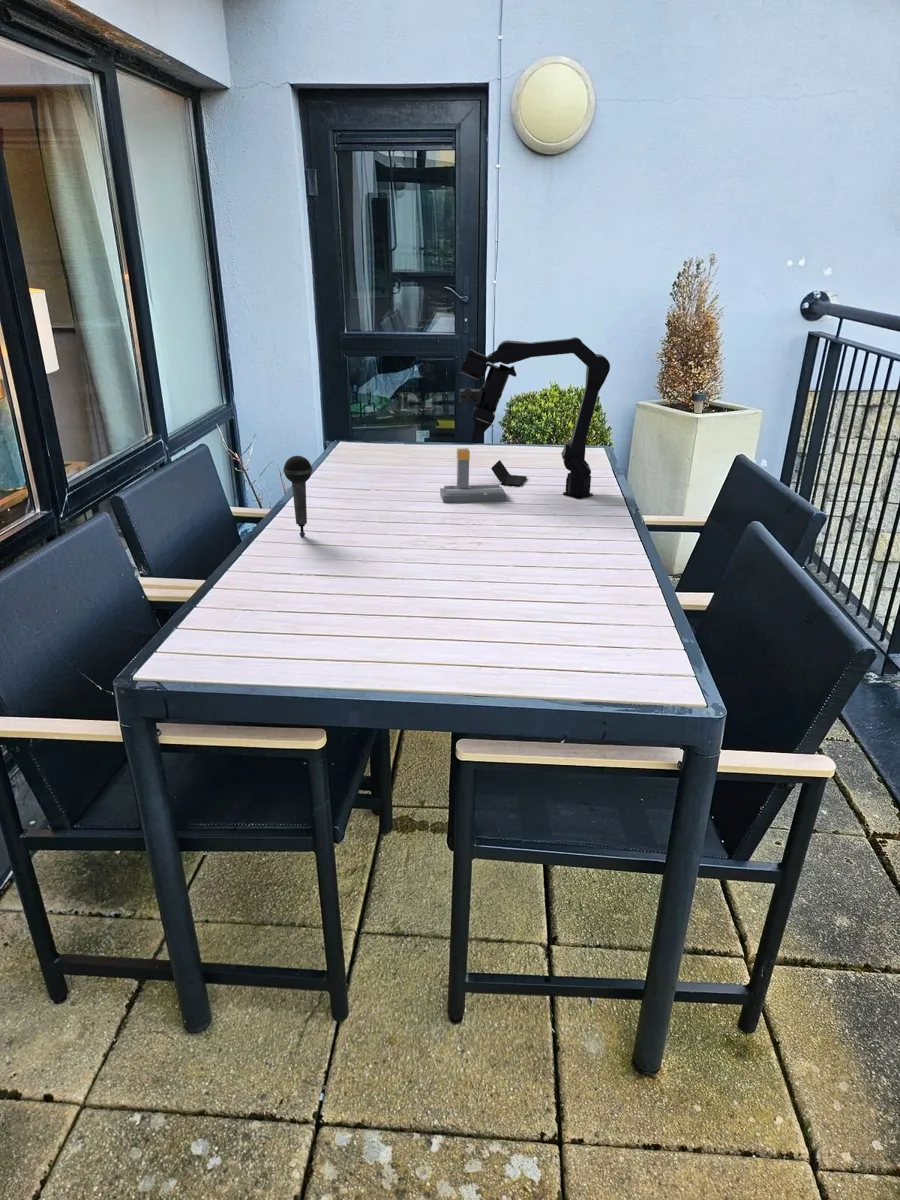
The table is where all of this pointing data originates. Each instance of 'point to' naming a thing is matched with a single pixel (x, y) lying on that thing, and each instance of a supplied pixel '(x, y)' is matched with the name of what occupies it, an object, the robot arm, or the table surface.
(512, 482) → the handheld gaming console
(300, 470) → the microphone
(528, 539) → the table surface
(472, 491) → the fader track
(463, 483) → the block
